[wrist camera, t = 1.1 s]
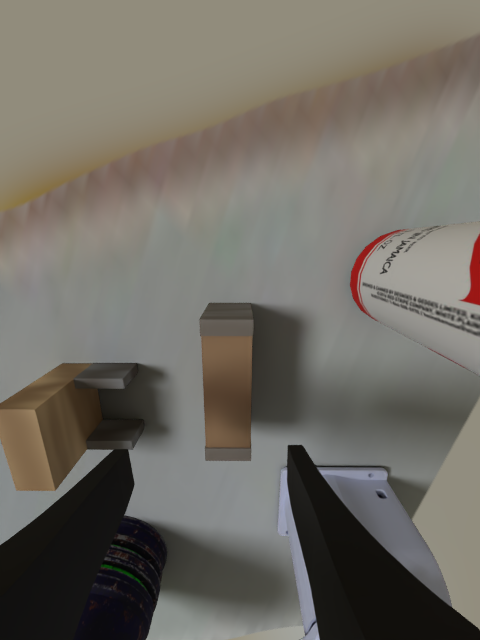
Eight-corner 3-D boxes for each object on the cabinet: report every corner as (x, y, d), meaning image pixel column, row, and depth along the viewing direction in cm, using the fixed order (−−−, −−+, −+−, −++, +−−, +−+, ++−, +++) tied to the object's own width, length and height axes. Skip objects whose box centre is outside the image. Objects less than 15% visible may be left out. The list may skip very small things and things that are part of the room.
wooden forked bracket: (136, 363, 20) (95, 409, 15) (144, 427, 22) (110, 491, 16) (62, 362, 20) (-9, 408, 15) (75, 427, 22) (16, 491, 16)
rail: (209, 302, 19) (199, 319, 15) (250, 303, 19) (253, 319, 15) (212, 417, 22) (205, 460, 17) (248, 417, 22) (250, 460, 17)
